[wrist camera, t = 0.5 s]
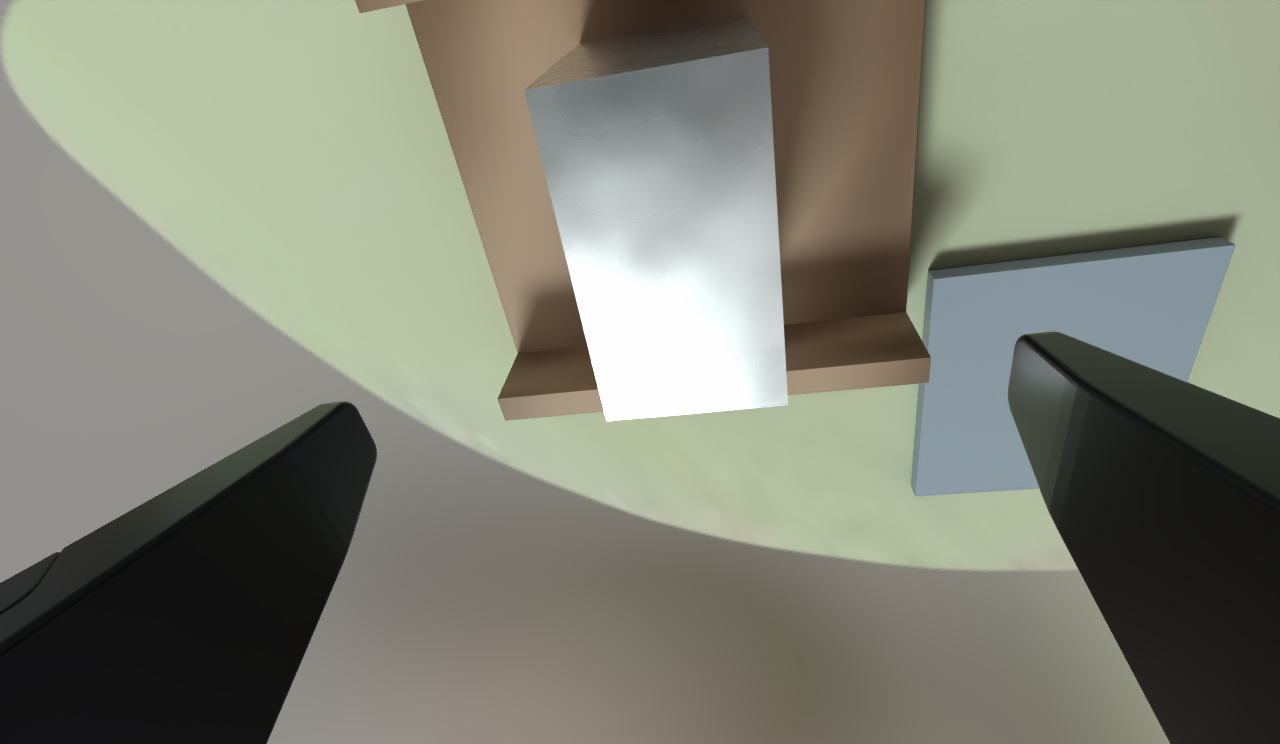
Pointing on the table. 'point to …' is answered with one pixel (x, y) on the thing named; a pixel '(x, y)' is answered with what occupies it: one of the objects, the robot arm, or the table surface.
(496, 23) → the brown wooden tray
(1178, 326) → the rest mat
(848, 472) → the table surface
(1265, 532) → the robot arm
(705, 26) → the metal block
